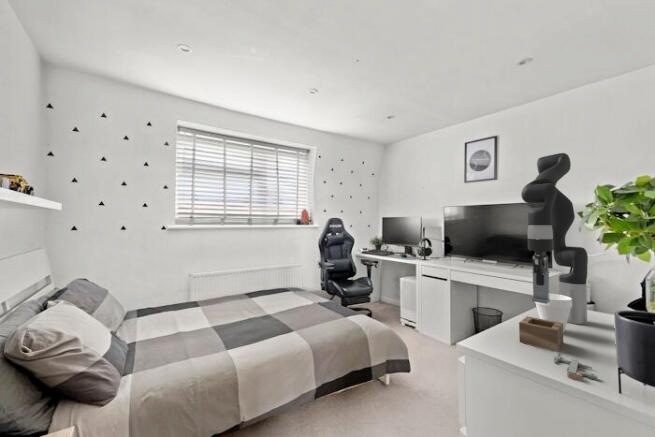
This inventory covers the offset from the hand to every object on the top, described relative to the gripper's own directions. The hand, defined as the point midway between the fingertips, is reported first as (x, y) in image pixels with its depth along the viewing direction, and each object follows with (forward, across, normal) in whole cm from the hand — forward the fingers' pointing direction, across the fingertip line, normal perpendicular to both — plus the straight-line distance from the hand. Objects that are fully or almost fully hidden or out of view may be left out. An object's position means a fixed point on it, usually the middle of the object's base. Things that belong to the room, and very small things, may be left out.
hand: (541, 284), depth 105 cm
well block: (+21, +1, 0) cm, 21 cm away
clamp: (+22, +18, +11) cm, 30 cm away
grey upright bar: (+6, +1, 0) cm, 6 cm away
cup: (+21, -18, 0) cm, 28 cm away
